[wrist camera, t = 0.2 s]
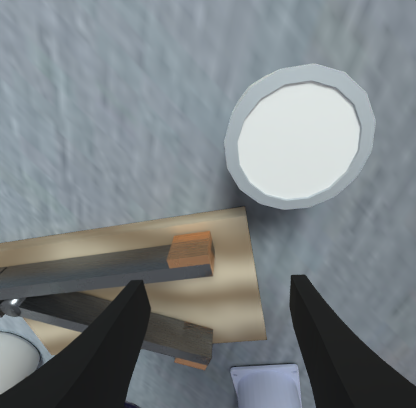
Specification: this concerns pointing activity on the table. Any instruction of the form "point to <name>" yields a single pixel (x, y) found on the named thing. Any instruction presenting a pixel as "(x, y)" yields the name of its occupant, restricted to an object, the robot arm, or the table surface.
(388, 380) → the robot arm
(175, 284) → the board
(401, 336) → the table surface
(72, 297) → the arm
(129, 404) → the storage jar
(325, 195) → the white cup
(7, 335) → the milk bottle
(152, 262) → the tongs fixed arm
